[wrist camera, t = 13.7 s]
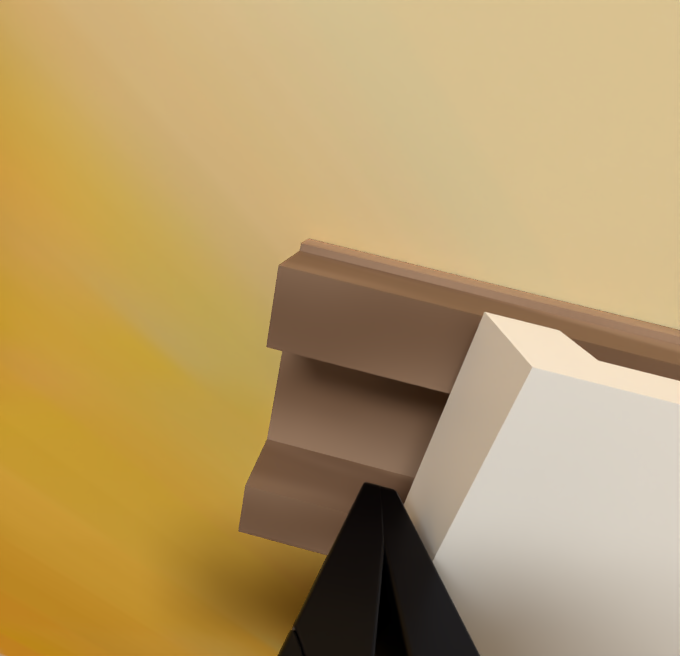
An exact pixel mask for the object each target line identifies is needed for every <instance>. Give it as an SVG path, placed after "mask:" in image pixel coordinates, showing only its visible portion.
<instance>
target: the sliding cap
mask: <svg viewBox="0 0 680 656" xmlns="http://www.w3.org/2000/svg"><path fill="white" fill-rule="evenodd" d="M404 507H405V509H406V511H407V513H408V515H409V517H410V519H411V520H412V522H413V524H414V526H415V528H416V530H417V532H418V534H419V536H420V538H421V540H422V542H423V544H424V546H425V548H426V550H427V552H428V554H429V556H430V558H431V560H432V562H433V564H434V566H435V568H436V570H437V572H438V574H439V576H440V577H441V579H442V581H443V583H444V585H445V587H446V589H447V591H448V593H449V595H450V597H451V599H452V601H453V603H454V605H455V607H456V609H457V611H458V613H459V615H460V617H461V619H462V621H463V623H464V625H465V627H466V629H467V631H468V633H469V634H470V636H471V638H472V640H473V642H474V644H475V646H476V648H477V650H478V652H479V654H480V656H680V381H678V380H674V379H670V378H666V377H662V376H658V375H654V374H650V373H646V372H642V371H638V370H634V369H630V368H626V367H622V366H618V365H614V364H610V363H606V362H602V361H598V360H597V359H596V358H594V357H593V356H592V355H591V354H589V353H588V352H587V351H585V350H584V349H583V348H581V347H580V346H579V345H578V344H576V343H575V342H574V341H572V340H571V339H570V338H568V337H567V336H566V335H565V334H563V333H562V332H561V331H559V330H556V329H552V328H548V327H544V326H540V325H536V324H532V323H528V322H524V321H520V320H516V319H512V318H508V317H504V316H500V315H495V314H491V313H487V312H484V314H483V317H482V319H481V321H480V324H479V326H478V329H477V331H476V333H475V336H474V338H473V341H472V343H471V345H470V348H469V350H468V352H467V355H466V357H465V360H464V362H463V364H462V367H461V369H460V372H459V374H458V376H457V379H456V381H455V383H454V386H453V388H452V391H451V393H450V395H449V398H448V400H447V403H446V405H445V407H444V410H443V412H442V415H441V417H440V419H439V422H438V424H437V426H436V429H435V431H434V434H433V436H432V438H431V441H430V443H429V446H428V448H427V450H426V453H425V455H424V457H423V460H422V462H421V465H420V467H419V469H418V472H417V474H416V477H415V479H414V481H413V484H412V486H411V489H410V491H409V493H408V496H407V498H406V500H405V503H404Z"/></svg>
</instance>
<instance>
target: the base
mask: <svg viewBox="0 0 680 656" xmlns="http://www.w3.org/2000/svg"><path fill="white" fill-rule="evenodd" d="M484 312H487V313H491V314H495V315H500V316H504V317H508V318H512V319H516V320H520V321H524V322H528V323H532V324H536V325H540V326H544V327H548V328H552V329H556V330H559V331H561V332H562V333H563V334H565V335H566V336H567V337H568V338H570V339H571V340H572V341H574V342H575V343H576V344H578V345H579V346H580V347H581V348H583V349H584V350H585V351H587V352H588V353H589V354H591V355H592V356H593V357H594V358H596V359H597V360H598V361H602V362H606V363H610V364H614V365H618V366H622V367H626V368H630V369H634V370H638V371H642V372H646V373H650V374H654V375H658V376H662V377H666V378H670V379H674V380H678V381H680V330H677V329H673V328H669V327H665V326H661V325H657V324H652V323H648V322H644V321H640V320H636V319H632V318H628V317H624V316H620V315H616V314H612V313H608V312H604V311H600V310H596V309H592V308H588V307H584V306H580V305H576V304H571V303H567V302H563V301H559V300H555V299H551V298H547V297H543V296H539V295H535V294H531V293H527V292H523V291H519V290H515V289H511V288H507V287H503V286H499V285H495V284H490V283H486V282H482V281H478V280H474V279H470V278H466V277H462V276H458V275H454V274H450V273H446V272H442V271H438V270H434V269H430V268H426V267H422V266H418V265H413V264H409V263H405V262H401V261H397V260H393V259H389V258H385V257H381V256H377V255H373V254H369V253H365V252H361V251H357V250H353V249H349V248H345V247H341V246H337V245H332V244H328V243H324V242H320V241H316V240H312V239H307V240H306V241H304V242H302V243H301V247H300V251H299V252H297V253H296V254H294V255H293V256H291V257H290V258H288V259H287V260H286V261H284V262H283V263H281V264H280V265H279V267H278V273H277V280H276V287H275V293H274V300H273V306H272V313H271V320H270V326H269V333H268V339H267V346H266V347H269V348H273V349H277V350H281V351H282V357H281V363H280V368H279V374H278V380H277V386H276V391H275V397H274V403H273V409H272V414H271V420H270V426H269V432H268V437H267V441H266V443H265V445H264V447H263V449H262V451H261V453H260V456H259V458H258V460H257V462H256V464H255V466H254V468H253V470H252V473H251V475H250V477H249V479H248V481H247V483H246V485H245V491H244V498H243V505H242V511H241V518H240V524H239V532H243V533H247V534H250V535H254V536H258V537H262V538H265V539H269V540H273V541H276V542H280V543H284V544H287V545H291V546H295V547H299V548H302V549H306V550H310V551H313V552H317V553H321V554H324V555H328V553H329V551H330V549H331V547H332V545H333V543H334V541H335V539H336V537H337V535H338V533H339V531H340V529H341V527H342V525H343V523H344V521H345V519H346V517H347V515H348V513H349V511H350V509H351V507H352V505H353V503H354V501H355V499H356V497H357V495H358V493H359V491H360V489H361V487H362V485H363V483H364V482H369V483H373V484H377V485H380V486H385V487H388V488H392V489H395V490H396V491H397V493H398V495H399V497H400V499H401V501H402V503H403V505H404V503H405V500H406V498H407V496H408V493H409V491H410V489H411V486H412V484H413V481H414V479H415V477H416V474H417V472H418V469H419V467H420V465H421V462H422V460H423V457H424V455H425V453H426V450H427V448H428V446H429V443H430V441H431V438H432V436H433V434H434V431H435V429H436V426H437V424H438V422H439V419H440V417H441V415H442V412H443V410H444V407H445V405H446V403H447V400H448V398H449V395H450V393H451V391H452V388H453V386H454V383H455V381H456V379H457V376H458V374H459V372H460V369H461V367H462V364H463V362H464V360H465V357H466V355H467V352H468V350H469V348H470V345H471V343H472V341H473V338H474V336H475V333H476V331H477V329H478V326H479V324H480V321H481V319H482V317H483V314H484Z"/></svg>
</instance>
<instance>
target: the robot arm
mask: <svg viewBox="0 0 680 656" xmlns="http://www.w3.org/2000/svg"><path fill="white" fill-rule="evenodd" d="M278 656H480V654H479V652H478V650H477V648H476V646H475V644H474V642H473V640H472V638H471V636H470V634H469V633H468V631H467V629H466V627H465V625H464V623H463V621H462V619H461V617H460V615H459V613H458V611H457V609H456V607H455V605H454V603H453V601H452V599H451V597H450V595H449V593H448V591H447V589H446V587H445V585H444V583H443V581H442V579H441V577H440V576H439V574H438V572H437V570H436V568H435V566H434V564H433V562H432V560H431V558H430V556H429V554H428V552H427V550H426V548H425V546H424V544H423V542H422V540H421V538H420V536H419V534H418V532H417V530H416V528H415V526H414V524H413V522H412V520H411V519H410V517H409V515H408V513H407V511H406V509H405V507H404V505H403V503H402V501H401V499H400V497H399V495H398V493H397V491H396V490H395V489H392V488H388V487H385V486H380V485H377V484H373V483H369V482H364V483H363V485H362V487H361V489H360V491H359V493H358V495H357V497H356V499H355V501H354V503H353V505H352V507H351V509H350V511H349V513H348V515H347V517H346V519H345V521H344V523H343V525H342V527H341V529H340V531H339V533H338V535H337V537H336V539H335V541H334V543H333V545H332V547H331V549H330V551H329V553H328V555H327V557H326V559H325V561H324V563H323V565H322V567H321V569H320V571H319V573H318V575H317V577H316V580H315V582H314V584H313V586H312V588H311V590H310V592H309V594H308V596H307V598H306V600H305V602H304V604H303V606H302V608H301V610H300V612H299V614H298V616H297V618H296V620H295V622H294V624H293V627H292V630H290V632H289V633H288V635H287V637H286V639H285V642H284V644H283V646H282V648H281V650H280V652H279V654H278Z"/></svg>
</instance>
